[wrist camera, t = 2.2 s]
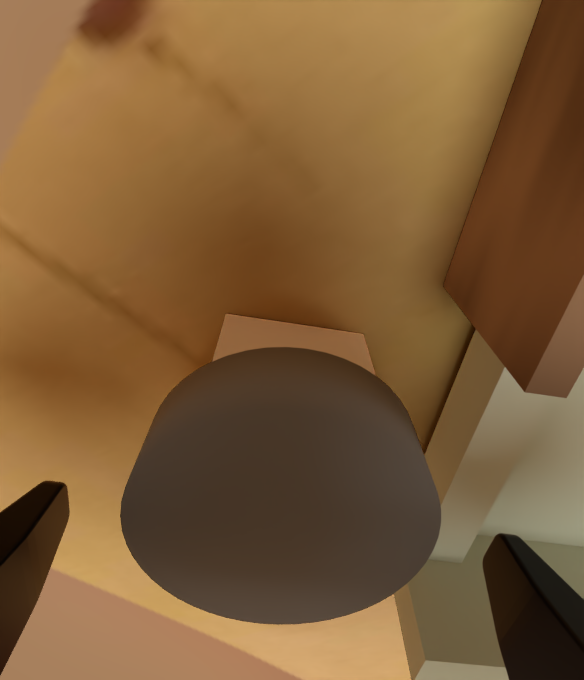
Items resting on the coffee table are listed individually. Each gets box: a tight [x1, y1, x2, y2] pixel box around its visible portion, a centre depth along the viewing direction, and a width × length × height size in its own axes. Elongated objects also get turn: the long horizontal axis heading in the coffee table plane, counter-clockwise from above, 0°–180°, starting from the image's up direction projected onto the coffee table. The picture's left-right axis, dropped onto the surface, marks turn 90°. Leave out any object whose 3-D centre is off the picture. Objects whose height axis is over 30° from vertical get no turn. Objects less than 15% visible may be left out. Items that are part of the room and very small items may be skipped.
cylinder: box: [120, 347, 441, 624], centre depth 10 cm, size 6×6×2 cm
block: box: [212, 314, 376, 376], centre depth 12 cm, size 4×4×4 cm
